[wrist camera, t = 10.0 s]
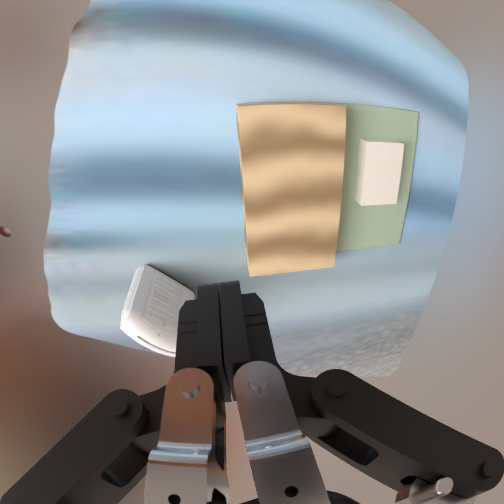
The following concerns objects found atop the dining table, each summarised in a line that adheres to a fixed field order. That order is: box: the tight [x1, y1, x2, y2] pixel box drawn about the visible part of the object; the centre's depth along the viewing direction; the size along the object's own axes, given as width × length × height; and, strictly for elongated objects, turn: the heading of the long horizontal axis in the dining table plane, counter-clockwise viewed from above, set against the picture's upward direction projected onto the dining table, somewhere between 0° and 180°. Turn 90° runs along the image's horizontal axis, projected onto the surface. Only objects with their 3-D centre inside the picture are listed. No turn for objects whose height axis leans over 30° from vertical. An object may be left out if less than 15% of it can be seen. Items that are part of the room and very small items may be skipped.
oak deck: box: [236, 102, 346, 277], centre depth 35 cm, size 22×12×4 cm, turn 3°
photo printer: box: [120, 265, 195, 357], centre depth 38 cm, size 10×4×12 cm, turn 48°
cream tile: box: [355, 138, 404, 206], centre depth 36 cm, size 9×6×2 cm, turn 3°
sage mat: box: [336, 103, 419, 252], centre depth 38 cm, size 22×13×1 cm, turn 3°
